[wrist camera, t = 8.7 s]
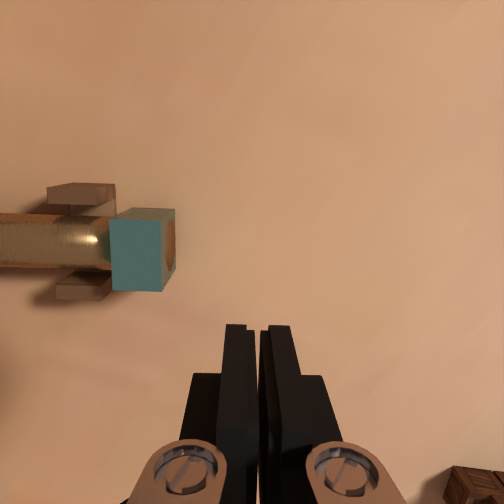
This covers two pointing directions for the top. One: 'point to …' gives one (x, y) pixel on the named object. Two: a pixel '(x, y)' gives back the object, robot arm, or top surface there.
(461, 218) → the top surface
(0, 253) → the bronze piece
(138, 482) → the robot arm
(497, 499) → the wooden blocks
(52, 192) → the guide block
